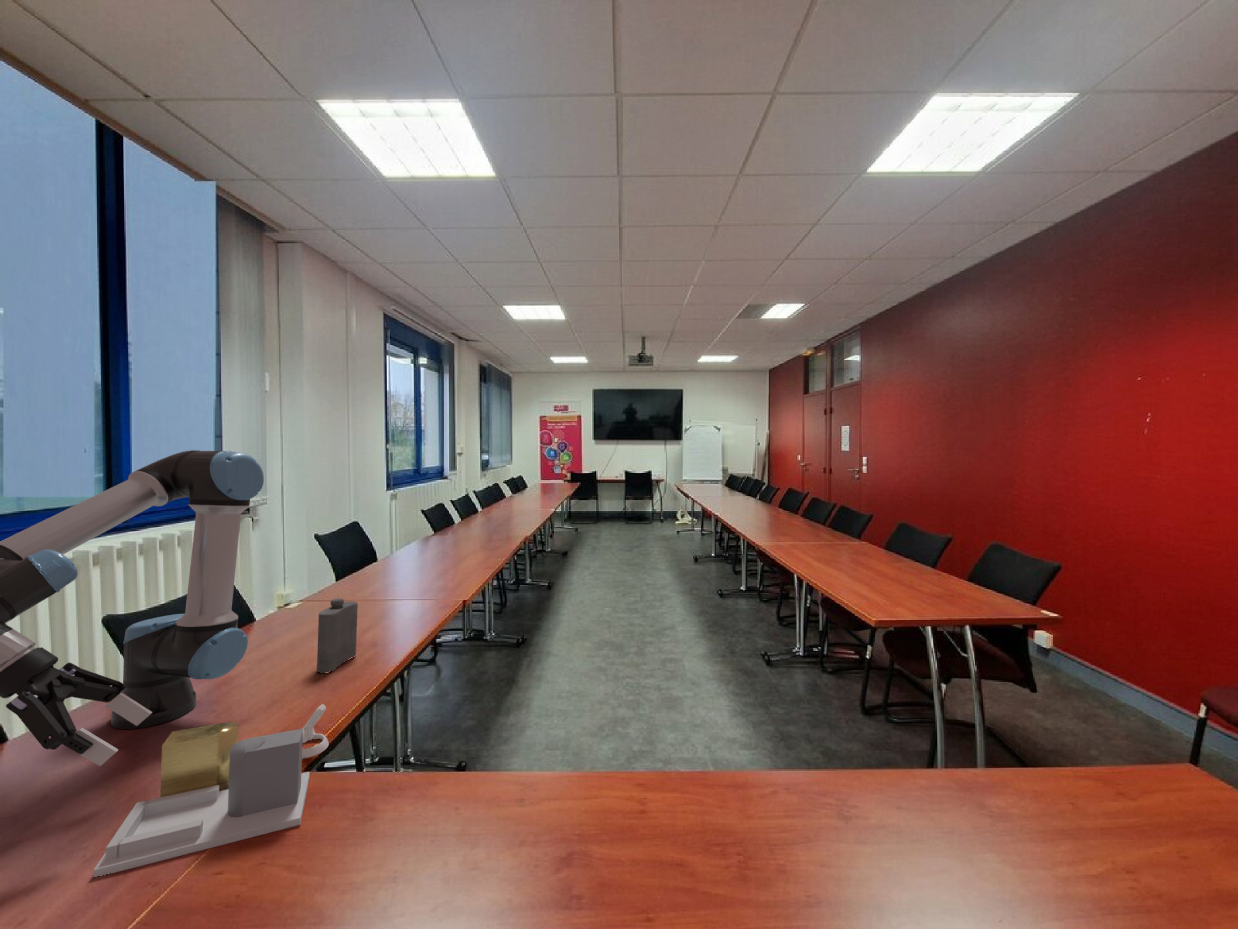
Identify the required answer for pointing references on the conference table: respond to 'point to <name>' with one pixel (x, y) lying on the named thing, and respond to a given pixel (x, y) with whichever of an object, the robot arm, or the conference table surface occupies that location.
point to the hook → (310, 734)
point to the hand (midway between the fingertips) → (128, 737)
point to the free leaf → (197, 758)
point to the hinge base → (217, 807)
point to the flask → (336, 634)
